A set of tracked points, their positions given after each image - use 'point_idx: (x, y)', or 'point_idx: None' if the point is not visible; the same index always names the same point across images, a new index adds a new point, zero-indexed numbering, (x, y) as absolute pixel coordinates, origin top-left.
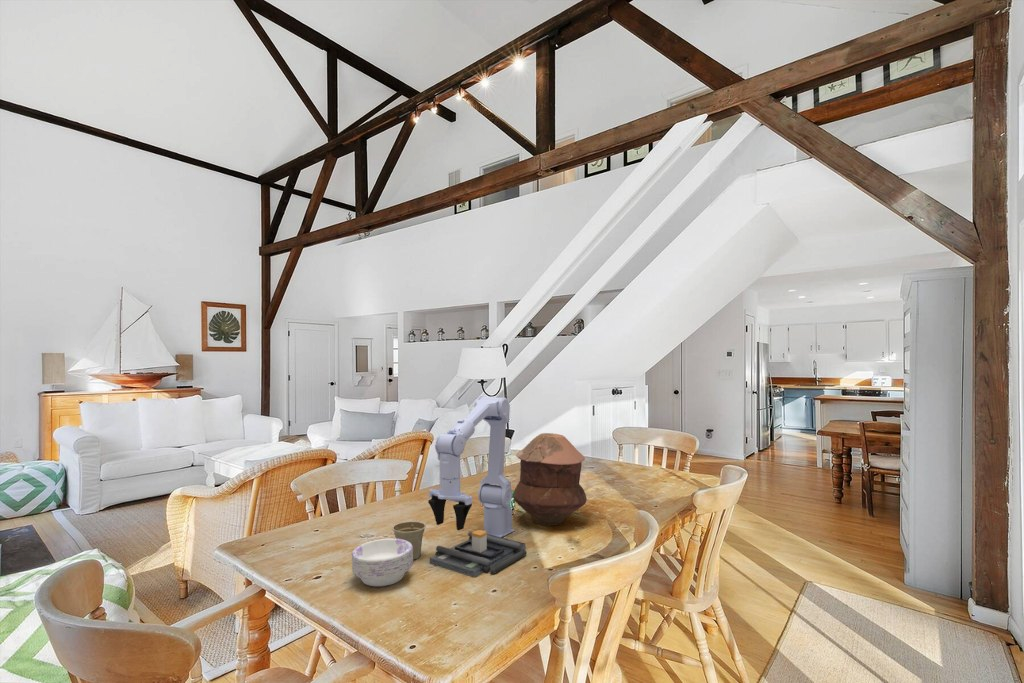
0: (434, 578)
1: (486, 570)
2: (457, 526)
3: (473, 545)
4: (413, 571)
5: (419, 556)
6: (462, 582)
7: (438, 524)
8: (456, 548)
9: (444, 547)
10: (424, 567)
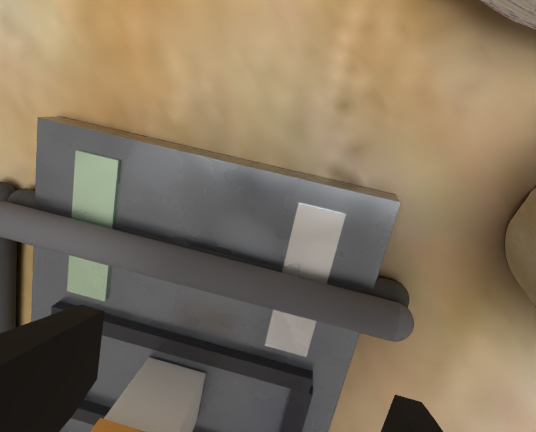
0: (252, 7)
1: (27, 189)
2: (59, 319)
3: (183, 391)
4: (437, 43)
5: (505, 249)
6: (81, 32)
7: (395, 403)
8: (298, 370)
9: (342, 316)
10: (396, 128)
